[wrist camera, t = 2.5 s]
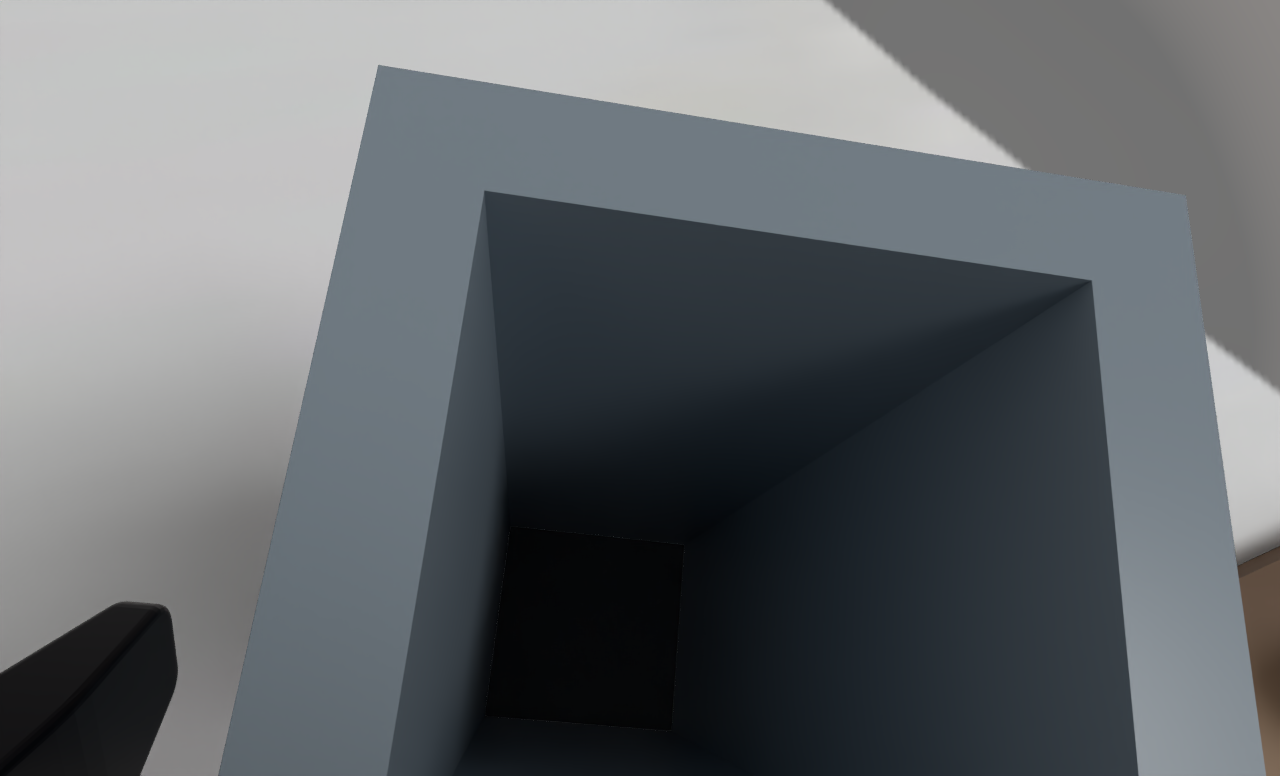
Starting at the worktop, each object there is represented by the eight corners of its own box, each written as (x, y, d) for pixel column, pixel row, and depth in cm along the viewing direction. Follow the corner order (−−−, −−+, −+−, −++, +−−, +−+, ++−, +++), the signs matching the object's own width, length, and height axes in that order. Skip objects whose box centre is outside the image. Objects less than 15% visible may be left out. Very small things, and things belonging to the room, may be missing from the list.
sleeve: (713, 785, 16) (1370, 1239, 4) (429, 763, 15) (62, 1211, 3) (728, 506, 18) (1210, 172, 5) (472, 478, 17) (349, 29, 5)
